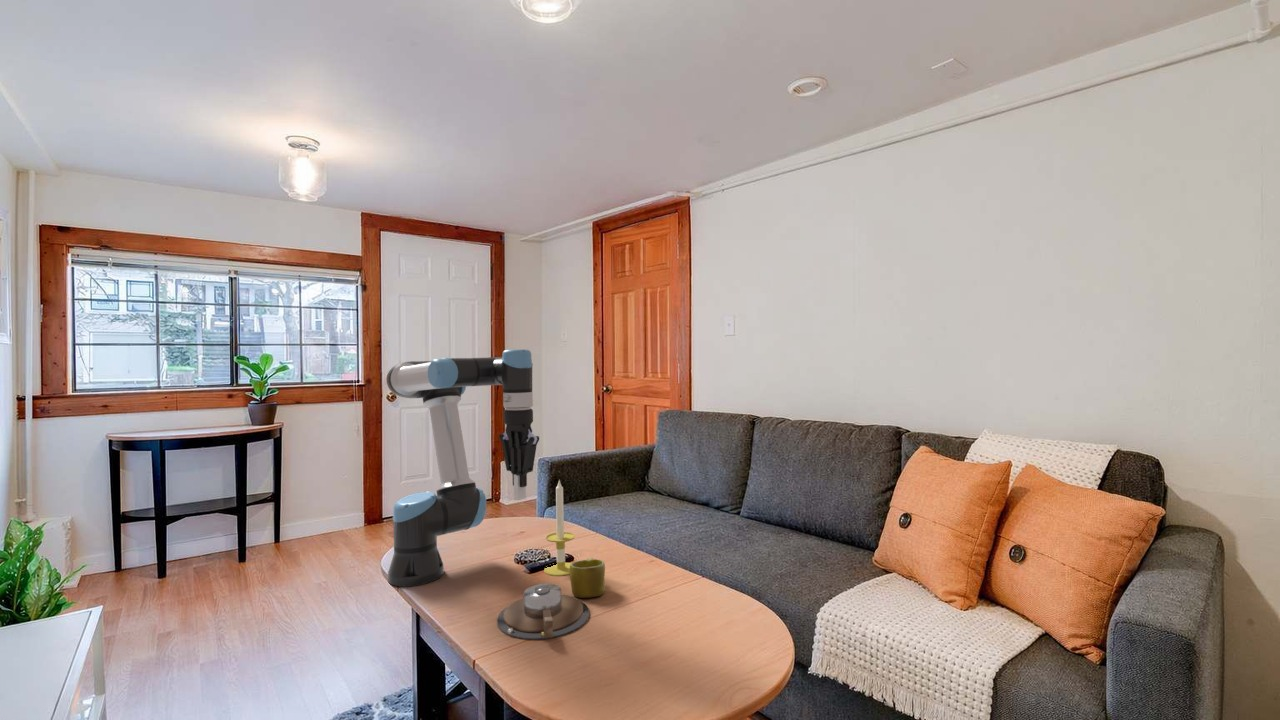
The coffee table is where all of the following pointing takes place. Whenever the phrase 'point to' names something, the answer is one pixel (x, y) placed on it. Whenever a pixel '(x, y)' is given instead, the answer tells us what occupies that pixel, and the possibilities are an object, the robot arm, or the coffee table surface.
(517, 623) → the platter
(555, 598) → the cover
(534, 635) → the susan base
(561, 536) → the candle
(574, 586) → the mug
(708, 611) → the coffee table surface
